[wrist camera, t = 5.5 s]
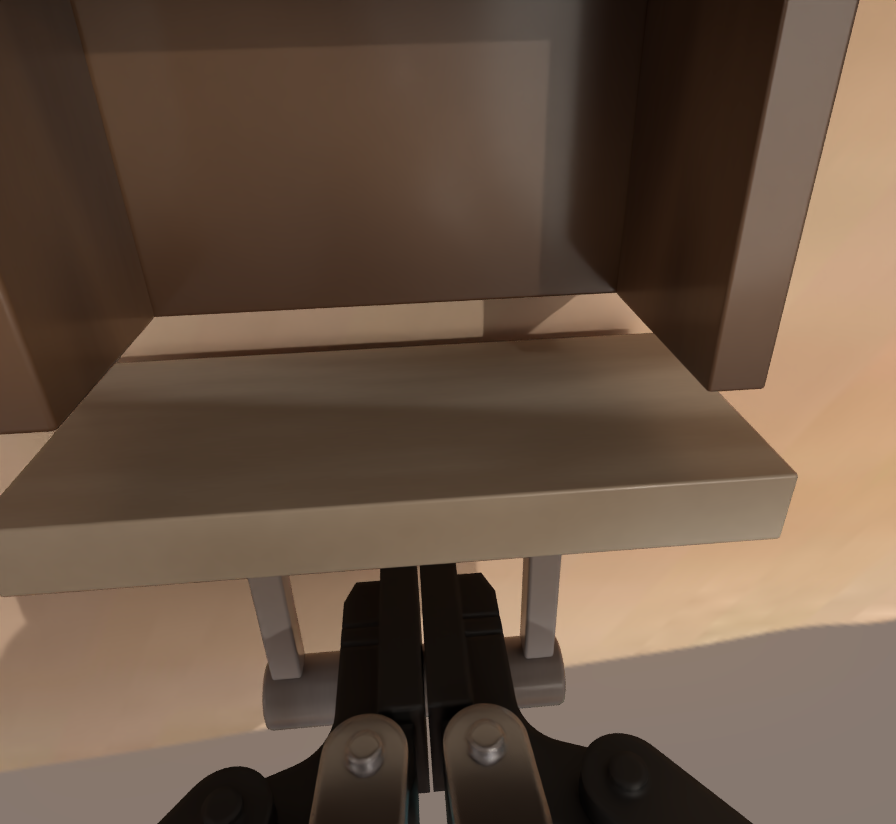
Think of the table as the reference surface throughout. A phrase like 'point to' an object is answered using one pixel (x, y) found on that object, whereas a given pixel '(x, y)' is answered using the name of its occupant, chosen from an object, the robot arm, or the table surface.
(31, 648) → the table surface
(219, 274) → the drawer
